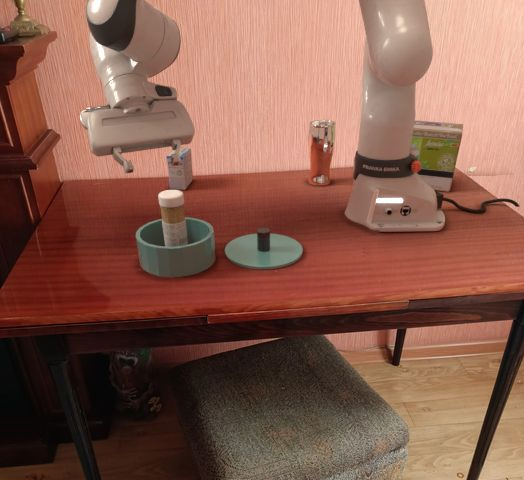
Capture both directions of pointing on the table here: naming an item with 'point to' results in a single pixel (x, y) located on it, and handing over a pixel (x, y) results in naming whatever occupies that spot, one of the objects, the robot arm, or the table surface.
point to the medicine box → (180, 170)
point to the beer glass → (321, 151)
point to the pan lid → (263, 250)
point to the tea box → (436, 151)
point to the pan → (176, 249)
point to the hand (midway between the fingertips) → (153, 167)
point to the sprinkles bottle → (173, 218)
